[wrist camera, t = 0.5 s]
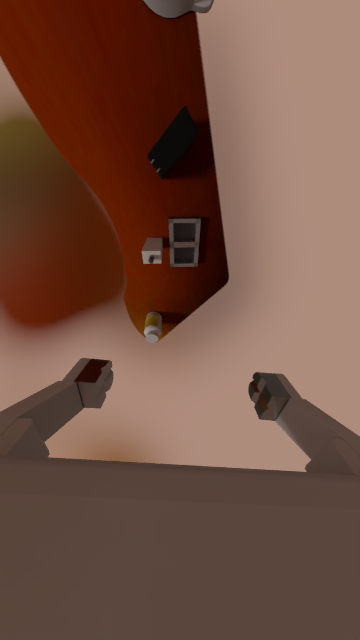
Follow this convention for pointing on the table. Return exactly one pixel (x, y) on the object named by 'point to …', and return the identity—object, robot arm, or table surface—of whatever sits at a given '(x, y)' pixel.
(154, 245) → the plug
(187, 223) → the socket box
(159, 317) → the supplement bottle
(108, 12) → the table surface
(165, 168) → the electronic device
